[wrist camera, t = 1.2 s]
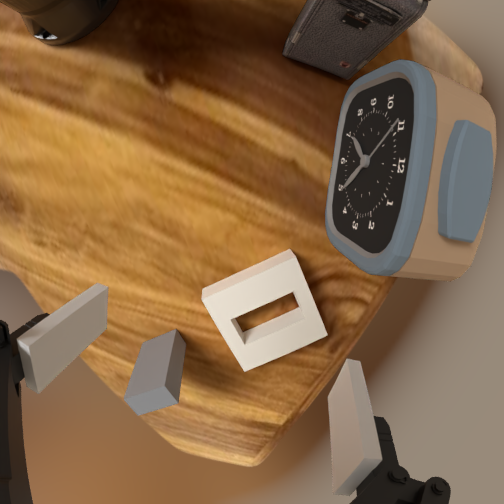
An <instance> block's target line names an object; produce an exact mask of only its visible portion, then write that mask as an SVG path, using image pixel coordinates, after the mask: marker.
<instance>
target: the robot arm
mask: <svg viewBox="0 0 504 504" xmlns="http://www.w3.org/2000/svg"><path fill="white" fill-rule="evenodd" d="M0 2H1V3H3V4H5V5H6V6H8V7H10V8H12V9H13V10H15V11H17V12H19V13H20V14H21V16H22V18H23V21H24V23H25V25H26V27H27V29H28V31H29V32H30V34H31V35H32V36H33V37H35V38H36V39H38V40H40V41H41V42H43V43H46V44H49V45H62V44H67V43H70V42H73V41H75V40H78V39H80V38H82V37H84V36H85V35H87V34H88V33H90V32H91V31H93V30H94V29H95V28H97V27H98V26H99V25H100V24H101V23H102V22H103V21H104V20H105V19H106V18H107V17H108V16H109V14H110V13H111V12H112V10H113V9H114V7H115V6H116V4H117V2H118V0H0ZM107 304H108V287H107V286H104V285H101V284H99V283H96V284H95V285H93V286H92V287H90V288H89V289H87V290H86V291H84V292H83V293H81V294H80V295H78V296H77V297H75V298H74V299H72V300H71V301H69V302H68V303H66V304H65V305H63V306H62V307H61V308H59V309H58V310H56V311H55V312H53V313H52V314H48V313H44V314H41V315H38V316H36V317H35V318H33V319H32V320H31V321H29V322H28V323H26V324H25V325H23V326H22V327H20V328H19V329H17V330H16V331H15V332H13V333H12V334H9V328H8V325H7V323H6V322H4V321H2V320H0V504H33V501H32V496H31V491H30V485H29V479H28V473H27V467H26V459H25V450H24V440H23V428H22V409H21V384H20V381H21V380H22V379H23V378H24V377H25V381H26V385H27V387H28V388H30V389H31V390H33V391H35V392H36V393H38V394H39V393H40V392H41V391H42V390H43V389H44V388H45V387H46V386H47V385H48V384H49V383H50V382H51V381H52V380H53V379H54V378H55V377H56V376H58V374H60V373H61V372H62V371H63V370H64V369H65V368H66V367H67V366H68V365H69V364H70V363H71V362H72V361H73V360H74V359H75V358H76V357H77V356H78V355H79V354H80V353H81V352H82V351H84V350H85V349H86V348H87V347H88V346H89V345H90V344H91V343H92V342H93V341H94V340H95V339H96V338H97V337H98V336H99V335H100V334H102V333H103V332H104V331H105V330H106V329H107ZM328 406H329V418H330V419H329V420H330V436H331V453H332V475H333V476H332V477H333V494H335V495H347V496H350V495H351V494H352V493H353V492H354V491H355V490H357V497H356V498H355V499H354V500H353V501H352V502H351V503H350V504H448V503H449V499H450V491H451V490H450V486H449V484H448V483H447V482H446V481H445V480H444V479H442V478H440V477H432V478H430V479H429V480H427V481H426V482H421V481H417V480H415V479H412V478H410V476H409V474H408V472H407V470H405V469H404V468H403V467H401V466H399V464H398V460H397V455H396V451H395V447H394V443H393V439H392V436H391V431H390V427H389V425H388V424H387V422H386V421H385V419H384V418H383V417H376V416H373V412H372V408H371V404H370V399H369V395H368V391H367V387H366V382H365V378H364V375H363V370H362V367H361V363H360V361H356V360H351V359H346V361H345V363H344V365H343V368H342V370H341V372H340V374H339V376H338V378H337V380H336V382H335V384H334V386H333V388H332V390H331V392H330V394H329V396H328Z"/></svg>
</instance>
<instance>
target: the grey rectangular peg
mask: <svg viewBox="0 0 504 504" xmlns="http://www.w3.org/2000/svg"><path fill="white" fill-rule="evenodd" d="M185 350H186V343H185V342H184V340H183V339H182V337H181V336H180V334H179V332H178V331H177V329H175V330H172V331H170V332H168V333H165V334H163V335H160V336H158V337H156V338H153V339H151V340H148V341H146V342H143V344H142V347H141V349H140V352H139V355H138V358H137V361H136V364H135V366H134V369H133V372H132V375H131V378H130V381H129V384H128V387H127V390H126V393H125V396H124V400H125V402H126V403H127V404H128V405H129V406H130V407H131V408H132V409H133V411H134V412H135V413H136V414H137V415H141V414H145V413H148V412H152V411H155V410H158V409H161V408H165V407H168V406H171V405H174V404H177V403H178V402H179V394H180V387H181V379H182V371H183V364H184V357H185Z"/></svg>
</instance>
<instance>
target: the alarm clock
mask: <svg viewBox="0 0 504 504" xmlns="http://www.w3.org/2000/svg"><path fill="white" fill-rule="evenodd" d="M496 146H497V145H496V123H495V115H494V113H493V111H492V109H491V106H490V104H489V102H488V101H486V100H485V99H484V98H483V97H482V96H481V95H480V94H478V93H476V92H474V91H473V90H471V89H469V88H467V87H465V86H464V85H462V84H460V83H458V82H456V81H454V80H452V79H450V78H448V77H446V76H444V75H442V74H440V73H438V72H436V71H434V70H432V69H430V68H427V67H425V66H423V65H421V64H418V63H416V62H414V61H409V60H402V59H400V60H397V61H393V62H391V63H388V64H386V65H384V66H382V67H380V68H378V69H376V70H374V71H372V72H370V73H368V74H365V75H363V76H362V77H360V78H359V79H357V80H356V81H355V82H354V83H353V84H352V85H351V86H350V87H349V89H348V91H347V93H346V95H345V98H344V101H343V103H342V106H341V112H340V117H339V122H338V127H337V134H336V141H335V148H334V155H333V162H332V168H331V174H330V181H329V187H328V194H327V202H326V211H325V226H326V231H327V235H328V237H329V240H330V242H331V243H332V244H333V246H334V247H335V248H336V249H337V250H338V251H340V252H341V253H342V254H343V255H344V256H346V257H347V258H348V259H349V260H350V261H352V262H353V263H354V264H355V265H356V266H357V267H359V268H360V269H361V270H363V271H365V272H366V273H368V274H371V275H381V276H392V277H404V278H415V279H426V280H438V281H452V280H455V279H457V278H459V277H461V276H462V275H463V273H464V272H465V271H466V270H467V269H468V268H469V267H470V266H471V264H472V261H473V259H474V256H475V253H476V251H477V248H478V245H479V243H480V240H481V237H482V234H483V230H484V225H485V220H486V215H487V210H488V205H489V200H490V194H491V189H492V180H493V174H494V166H495V157H496Z"/></svg>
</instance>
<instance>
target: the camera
mask: <svg viewBox="0 0 504 504" xmlns="http://www.w3.org/2000/svg"><path fill="white" fill-rule="evenodd" d="M428 1H430V0H307V2H306V4H305V5H304V7H303V9H302V11H301V13H300V14H299V16H298V18H297V20H296V22H295V24H294V26H293V27H292V29H291V31H290V33H289V35H288V38H287V40H286V42H285V45H284V49H283V53H282V54H283V56H285V57H288V58H291V59H294V60H297V61H300V62H302V63H305V64H308V65H311V66H314V67H316V68H319V69H322V70H324V71H327V72H329V73H332V74H334V75H337V76H339V77H342V78H344V79H346V80H349V79H350V78H351V77H352V76H353V75H355V74H356V73H357V72H358V71H359V70H360V69H361V68H362V67H364V66H365V65H366V64H367V63H368V62H369V61H370V60H372V59H373V58H374V57H375V56H376V55H377V54H378V53H379V52H381V51H382V50H383V49H384V48H385V47H386V46H387V45H389V44H390V43H391V42H392V41H393V40H394V39H396V38H397V37H398V36H399V35H400V34H401V33H403V32H404V31H405V30H406V29H407V28H408V27H410V26H411V25H412V24H413V23H414V22H416V21H417V20H418V19H419V18H420V17H421V16H422V15H423V13H424V12H425V10H426V8H427V6H428Z"/></svg>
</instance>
